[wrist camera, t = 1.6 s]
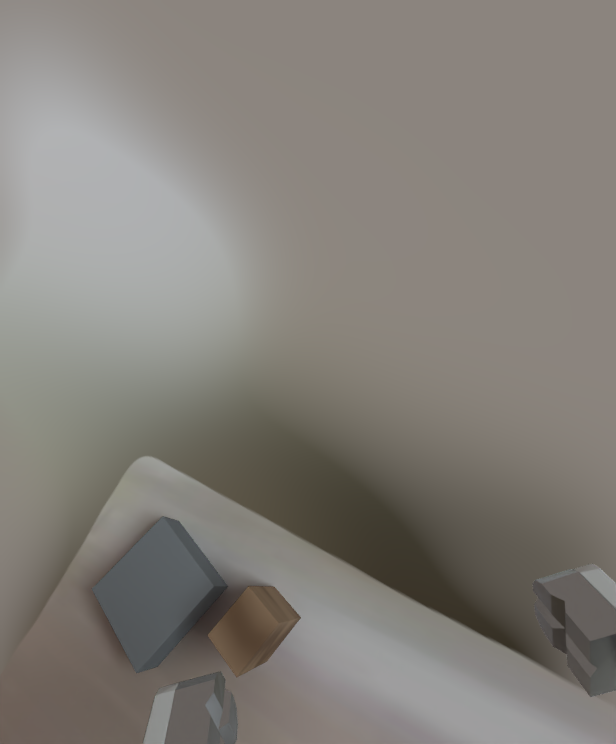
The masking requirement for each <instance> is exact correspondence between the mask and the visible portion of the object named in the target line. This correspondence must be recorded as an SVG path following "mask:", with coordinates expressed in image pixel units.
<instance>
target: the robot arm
mask: <svg viewBox="0 0 616 744" xmlns="http://www.w3.org/2000/svg"><path fill="white" fill-rule="evenodd" d="M533 591H534V593H535V594H536V595H537V596H538V599H537V601H536V602H535V604H534V607H535V615H536V617H537V619H538V622H539V624H540V627H541V629H542V630H543V632H544V634H545V635H546V637H547V638H548V640H549V641H550V643H551V644H552V645H553V647H555V648H557V649H558V650H560V651H562V652H563V653H565V654H567V666H568V667H569V669H570V670H571V671H572V673H573V674H574V676H575V677H576V678H577V680H578V681H579V682H580V684H581V685H582V686H583V688H584V689H585V690H586V692H587V693H588V695H589V696H590V697H592V696H596V695H600V694H604V693H608V692H612V691H615V690H616V583H615V582H614V581H613V580H612V579H611V578H610V577H609V576H608V575H606V573H604V572H603V571H602V570H601V569H600V568H599V567H598V566H596V565H594V564H588V565H585V566H582V567H579V568H576V569H572V570H571V569H569V570H566V571H563V572H559V573H556V574H553V575H550V576H547V577H543V578H540V579H537V580H535V581H534V582H533ZM237 728H238V722H237V708H236V704H235V700H234V697H233V695H232V693H231V691H228V690H226V689H225V678H224V676H223V674H222V672H221V671H220V672H217V673H213V674H209V675H205V676H202V677H198V678H194V679H190V680H187V681H183V682H178V683H175V684H171V685H168V686H165V687H161V688H159V690H158V692H157V694H156V696H155V697H154V701H153V705H152V709H151V713H150V717H149V721H148V725H147V728H146V732H145V736H144V740H143V744H235V742H236V740H237Z"/></svg>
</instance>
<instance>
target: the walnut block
mask: <svg viewBox="0 0 616 744" xmlns="http://www.w3.org/2000/svg"><path fill="white" fill-rule="evenodd" d="M300 618H301V617H300V616H299V615H298V614H297V612H296V611H295V610H294V609H293V608H292V607H291V605H290V604H289V603H288V602H287V601H286V600H285V598H284V597H283V596H282V595H281V594H280V593H279V591H278V590H277V589H276V588H275V587H263V586H248V587H247V589H246V590H245V591H244V592H243V593H242V595H241V596H240V597H239V598H238V599H237V601H236V602H235V603H234V604H233V605H232V607H231V608H230V609H229V610H228V611H227V613H226V614H225V615H224V616H223V617H222V619H221V620H220V621H219V622H218V623H217V625H216V626H215V627H214V628H213V629H212V630H211V632H210V633H209V634H208V637H209V638H210V640H211V641H212V643H213V644H214V646H215V647H216V648H217V650H218V651H219V653H220V654H221V656H222V657H223V659H224V660H225V661H226V663H227V664H228V666H229V667H230V669H231V670H232V672H233V673H234V674H235V676H236V677H238V676H240V675H242V674H244V673H246V672H248V671H250V670H251V669H253V668H255V667H257V666H259V665H261V664H263V663H265V662H267V661H268V659H269V658H270V657H271V655H272V654H273V653H274V651H275V650H276V649H277V648H278V646H279V645H280V644H281V642H282V641H283V640H284V639H285V637H286V636H287V635H288V633H289V632H290V631H291V630H292V628H293V627H294V626H295V624H296V623H297V622H298V621H299V619H300Z"/></svg>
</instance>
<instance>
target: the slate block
mask: <svg viewBox="0 0 616 744" xmlns="http://www.w3.org/2000/svg"><path fill="white" fill-rule="evenodd" d="M227 587H228V586H227V584H226V583H225V582H224V580H223V579H222V578H221V576H220V575H219V574H218V572H217V571H216V570H215V568H214V567H213V566H212V564H211V563H210V562H209V560H208V559H207V558H206V556H205V555H204V554H203V552H202V551H201V550H200V548H199V547H198V546H197V544H196V543H195V542H194V540H193V539H192V538H191V536H190V535H189V534H188V532H187V531H186V530H185V528H184V527H183V526H182V524H181V523H180V522H179V521H177V520H174V519H170V518H167V517H164V516H163V517H162V518H161V519H160V520H159V521H158V522H157V523H156V524H155V525H154V526H153V527H152V528H151V529H150V530H149V531H148V532H147V533H146V534H145V535H144V536H143V537H142V538H141V539H140V540H139V541H138V542H137V543H136V544H135V545H134V546H133V547H132V548H131V549H130V550H129V551H128V552H127V553H126V554H125V555H124V557H123V558H122V559H121V560H120V561H119V562H118V563H117V564H116V565H115V566H114V567H113V568H112V569H111V570H110V571H109V572H108V573H107V574H106V575H105V576H104V577H103V578H102V579H101V580H100V581H99V582H98V583H97V584H96V585H95V586H94V587H93V588H92V590H93V592H94V594H95V596H96V598H97V600H98V602H99V604H100V606H101V607H102V609H103V611H104V613H105V615H106V617H107V619H108V621H109V622H110V624H111V626H112V628H113V630H114V632H115V634H116V636H117V638H118V639H119V641H120V643H121V645H122V647H123V649H124V651H125V653H126V654H127V656H128V658H129V660H130V662H131V664H132V666H133V668H134V670H135V671H136V673H139V672H142V671H145V670H148V669H151V668H155V667H158V665H159V664H160V663H161V662H162V661H163V660H164V659H165V658H166V656H167V655H168V654H169V653H170V652H171V651H172V650H173V648H174V647H175V646H176V645H177V644H178V643H179V642H180V640H181V639H182V638H183V637H184V636H185V635H186V634H187V632H188V631H189V630H190V629H191V628H192V627H193V626H194V624H195V623H196V622H197V621H198V620H199V619H200V618H201V617H202V615H203V614H204V613H205V612H206V611H207V610H208V609H209V607H210V606H211V605H212V604H213V603H214V602H215V601H216V599H217V598H218V597H219V596H220V595H221V594H222V593H223V591H224V590H225V589H226V588H227Z"/></svg>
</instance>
